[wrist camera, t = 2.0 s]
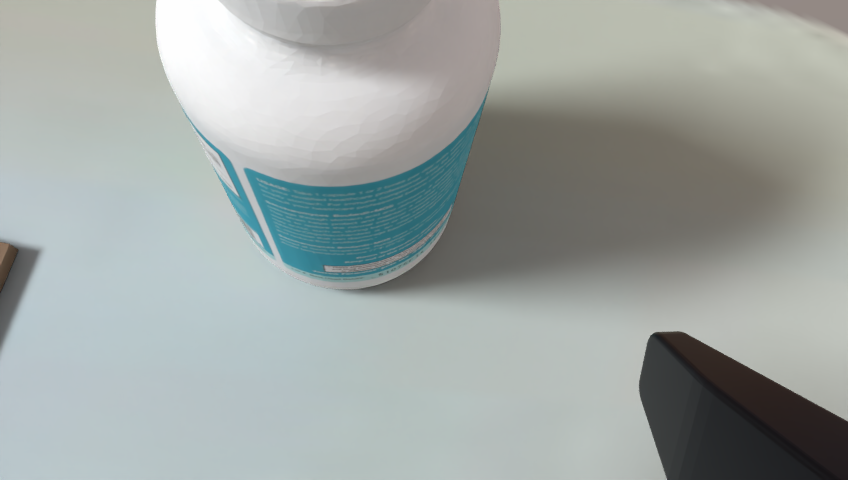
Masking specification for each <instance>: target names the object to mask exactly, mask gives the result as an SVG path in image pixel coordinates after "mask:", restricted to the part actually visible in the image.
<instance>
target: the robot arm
mask: <svg viewBox="0 0 848 480" xmlns="http://www.w3.org/2000/svg"><path fill="white" fill-rule="evenodd" d="M639 392H640V398H641V401H642V404H643V407H644V410H645V413H646V416H647V420H648V423H649V426H650V429H651V432H652V435H653V438H654V441H655V444H656V447H657V450H658V453H659V456H660V459H661V462H662V465H663V468H664V472H665V475H666V478H667V480H848V421H846V420H844V419H842V418H841V417H839V416H837V415H835V414H833V413H831V412H829V411H828V410H826V409H824V408H822V407H820V406H818V405H817V404H815V403H813V402H811V401H809V400H807V399H806V398H804V397H802V396H800V395H798V394H796V393H794V392H793V391H791V390H789V389H787V388H785V387H783V386H782V385H780V384H778V383H776V382H774V381H772V380H771V379H769V378H767V377H765V376H763V375H761V374H759V373H758V372H756V371H754V370H752V369H750V368H748V367H747V366H745V365H743V364H741V363H739V362H737V361H736V360H734V359H732V358H730V357H728V356H726V355H724V354H723V353H721V352H719V351H717V350H715V349H713V348H712V347H710V346H708V345H706V344H704V343H702V342H701V341H699V340H697V339H695V338H693V337H691V336H689V335H688V334H686V333H684V332H679V331H676V332H655V333H653V334H652V335H651V336H650V338H649V340H648V342H647V347H646V352H645V356H644V361H643V366H642V371H641V375H640V381H639Z"/></svg>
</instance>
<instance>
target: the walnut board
mask: <svg viewBox="0 0 848 480" xmlns="http://www.w3.org/2000/svg"><path fill="white" fill-rule="evenodd" d="M17 252H18V249H16V248H15V247H13V246H12V245H10V244H6V243H2V242H0V292H1V290H2V287H3V285H4V283H5V280H6V278H7V276H8V273H9V271H10V268H11V266H12V264H13V261H14V259H15V257H16V254H17Z"/></svg>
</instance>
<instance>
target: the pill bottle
mask: <svg viewBox="0 0 848 480" xmlns="http://www.w3.org/2000/svg"><path fill="white" fill-rule="evenodd" d="M500 33H501V23H500V9H499V2H498V0H157V3H156V37H157V44H158V49H159V54H160V58H161V61H162V64H163V67H164V70H165V73H166V76H167V78H168V80H169V82H170V85H171V87H172V89H173V91H174V93H175V95H176V97H177V99H178V101H179V103H180V105H181V106H182V108H183V110H184V112H185V114H186V116H187V118H188V120H189V122H190V124H191V126H192V128H193V130H194V131H195V133H196V135H197V137H198V139H199V141H200V143H201V145H202V147H203V149H204V151H205V153H206V155H207V157H208V158H209V160H210V162H211V164H212V166H213V168H214V170H215V172H216V174H217V175H218V177H219V179H220V181H221V183H222V185H223V187H224V189H225V191H226V193H227V195H228V197H229V199H230V201H231V203H232V205H233V207H234V209H235V211H236V213H237V215H238V217H239V219H240V221H241V222H242V224H243V226H244V228H245V229H246V231H247V233H248V235H249V237H250V238H251V240H252V242H253V243H254V244H255V246H256V247H257V248H258V249H259V251H260V252H261V253H262V254H263V255H264V256H265V257H266V258H267V259H268V260H269V261H270V262H271V263H272V264H273V265H275V266H276V267H278V268H279V269H281V270H282V271H283V272H285V273H287V274H288V275H290V276H292V277H294V278H296V279H298V280H301V281H303V282H306V283H309V284H312V285H315V286H320V287H324V288H330V289H359V288H366V287H371V286H375V285H378V284H381V283H384V282H387V281H389V280H392V279H394V278H396V277H398V276H400V275H402V274H403V273H405V272H407V271H408V270H410V269H411V268H412V267H414V266H415V265H416V264H417V263H419V262H420V261H421V260H422V259H423V258H424V257H425V256H426V255H427V254H428V253H429V252H430V251H431V250H432V248H433V247H434V246H435V244H436V243H437V242H438V240H439V238H440V237H441V235H442V233H443V231H444V229H445V227H446V225H447V223H448V220H449V217H450V214H451V211H452V208H453V205H454V202H455V198H456V195H457V192H458V189H459V185H460V182H461V178H462V175H463V172H464V168H465V165H466V162H467V159H468V155H469V152H470V149H471V145H472V142H473V139H474V136H475V132H476V129H477V126H478V123H479V120H480V116H481V113H482V110H483V106H484V103H485V100H486V96H487V93H488V90H489V86H490V83H491V79H492V76H493V72H494V69H495V66H496V61H497V56H498V52H499V45H500Z"/></svg>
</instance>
